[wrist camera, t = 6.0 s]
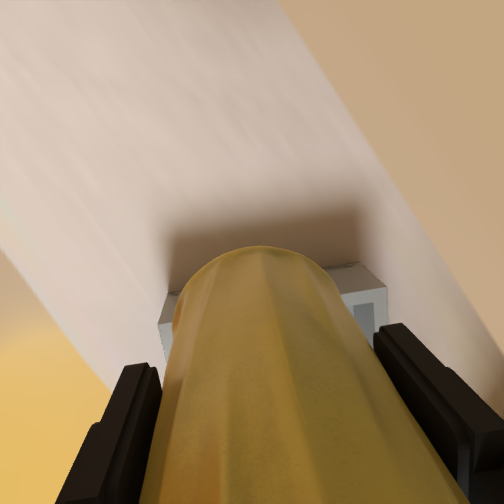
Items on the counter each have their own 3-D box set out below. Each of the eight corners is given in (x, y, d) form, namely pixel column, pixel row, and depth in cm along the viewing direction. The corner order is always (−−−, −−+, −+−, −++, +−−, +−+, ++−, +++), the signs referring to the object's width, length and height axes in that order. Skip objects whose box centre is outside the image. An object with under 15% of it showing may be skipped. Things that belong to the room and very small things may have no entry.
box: (359, 262, 32) (387, 286, 27) (369, 436, 37) (394, 485, 32) (167, 293, 31) (157, 324, 26) (206, 465, 37) (204, 520, 31)
